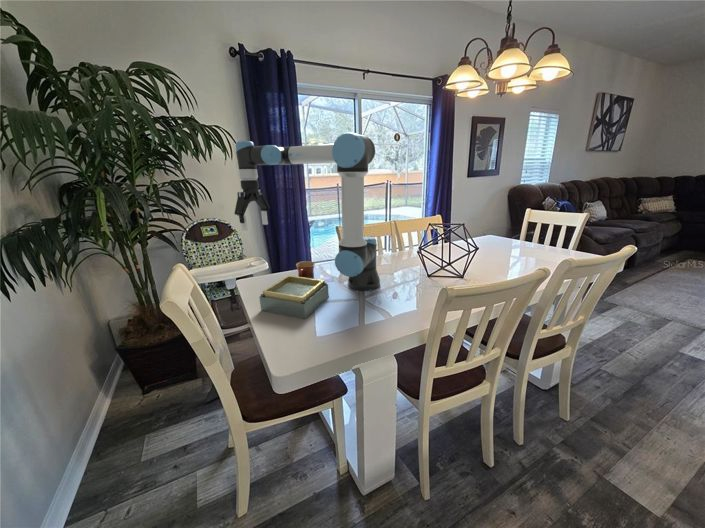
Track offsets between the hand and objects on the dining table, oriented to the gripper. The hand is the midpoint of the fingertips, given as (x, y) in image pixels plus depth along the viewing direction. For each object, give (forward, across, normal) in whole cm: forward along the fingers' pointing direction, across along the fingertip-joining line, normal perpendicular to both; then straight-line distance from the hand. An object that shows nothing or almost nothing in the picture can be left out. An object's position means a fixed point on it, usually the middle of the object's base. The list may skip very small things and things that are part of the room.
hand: (255, 227), depth 133 cm
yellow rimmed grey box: (+29, +13, +28) cm, 42 cm away
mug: (+28, -4, +22) cm, 36 cm away
